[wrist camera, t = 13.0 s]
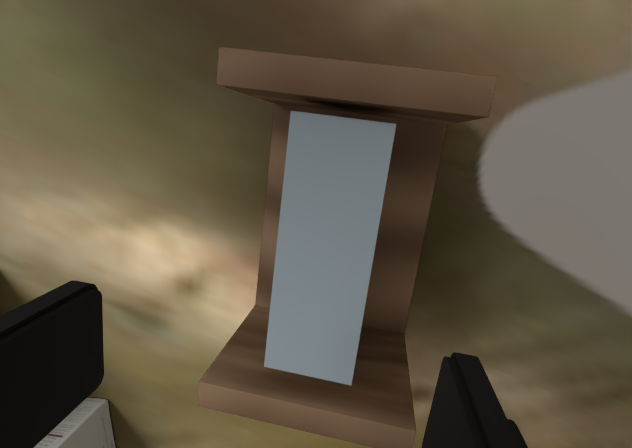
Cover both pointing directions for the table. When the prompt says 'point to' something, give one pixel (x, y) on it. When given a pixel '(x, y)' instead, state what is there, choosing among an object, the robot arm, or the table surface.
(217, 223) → the table surface
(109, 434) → the supplement box
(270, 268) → the peg frame
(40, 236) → the table surface
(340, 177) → the grey rectangular block
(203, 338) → the table surface
